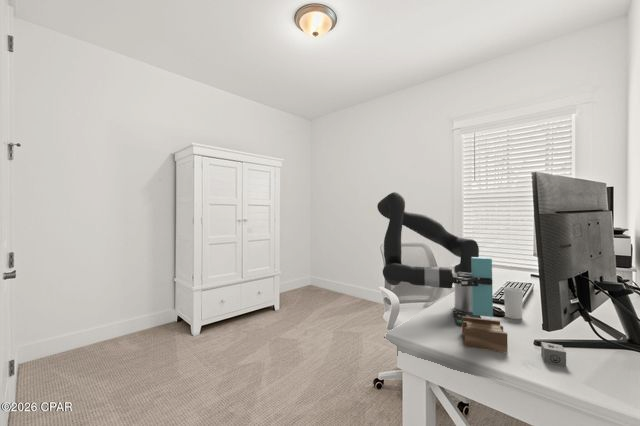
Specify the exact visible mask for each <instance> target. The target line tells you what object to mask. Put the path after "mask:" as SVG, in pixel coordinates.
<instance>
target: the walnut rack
mask: <svg viewBox="0 0 640 426" xmlns="http://www.w3.org/2000/svg"><path fill="white" fill-rule="evenodd" d="M481 318H482V317H481ZM481 318H472V317H463V316H462V326H461V334H462V339H463V342H464V347H465V348H466V347H467V348H473V349H479V350H484V351H491V352H492V351H493V352H500V353H507V354H508V353H509V352H508V351H509V350H508V332H505V331H504V326H503V325H501V321H500V320H499V319H497V320H496V319H488V318H487V319H486V318H482V319H481ZM467 323H473V324H481V325H490V326H498V327H500V328H501V329H502V331H503V332H498V331H490V330H483V329H475V328H467Z"/></svg>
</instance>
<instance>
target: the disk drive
mask: <svg viewBox="0 0 640 426" xmlns="http://www.w3.org/2000/svg"><path fill="white" fill-rule="evenodd" d="M462 316H463V317H472V318H481V319H483V318H482V316H479V315H473V313H472V312H464V311H459V310H452V317H453V318H454V323H455V325H456V326H458V327H462Z"/></svg>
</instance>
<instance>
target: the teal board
mask: <svg viewBox="0 0 640 426" xmlns="http://www.w3.org/2000/svg"><path fill="white" fill-rule="evenodd" d="M471 269H472V277H479V278H491V279H492V280H493V259H492V258H491V257H484V256H483V257H481V256H479V257H471ZM472 282H474V283H475V280H473V281H472ZM493 298H494V297H493V284H492V285H483V284H480V285H479V286H472V312H471V313H473V315H479V316H480V317H490V318H493V317H494V311H493V310H494V304H493V302H494V301H493Z"/></svg>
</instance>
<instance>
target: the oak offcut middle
mask: <svg viewBox="0 0 640 426" xmlns="http://www.w3.org/2000/svg"><path fill="white" fill-rule="evenodd" d="M467 325H470V326H478V327H486V328H494V329H501V328H500V327H498V326H490V325H481V324H473V323H467Z"/></svg>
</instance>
